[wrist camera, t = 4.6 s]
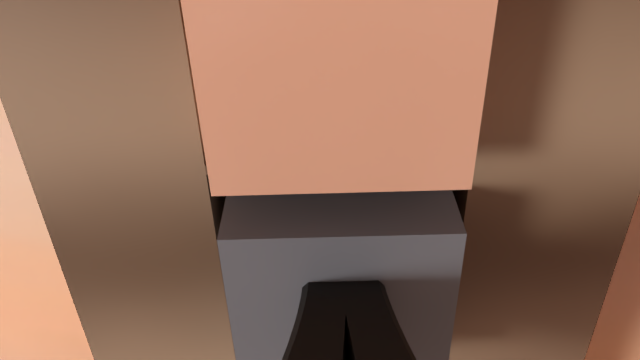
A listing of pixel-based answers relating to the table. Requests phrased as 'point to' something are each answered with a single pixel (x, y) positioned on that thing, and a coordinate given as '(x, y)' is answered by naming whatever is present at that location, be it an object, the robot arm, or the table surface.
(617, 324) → the table surface
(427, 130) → the terracotta key
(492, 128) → the key box
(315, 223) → the charcoal key
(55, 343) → the table surface
